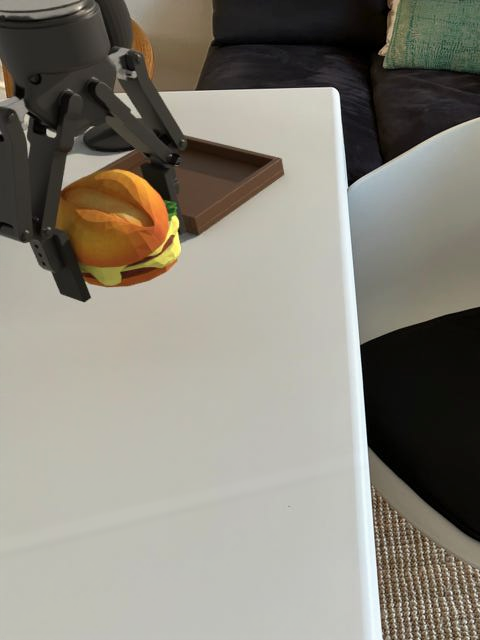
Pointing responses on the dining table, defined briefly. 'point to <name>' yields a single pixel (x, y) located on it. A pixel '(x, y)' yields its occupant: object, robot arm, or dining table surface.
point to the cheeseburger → (119, 228)
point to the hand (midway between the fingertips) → (126, 261)
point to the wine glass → (119, 36)
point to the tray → (212, 179)
